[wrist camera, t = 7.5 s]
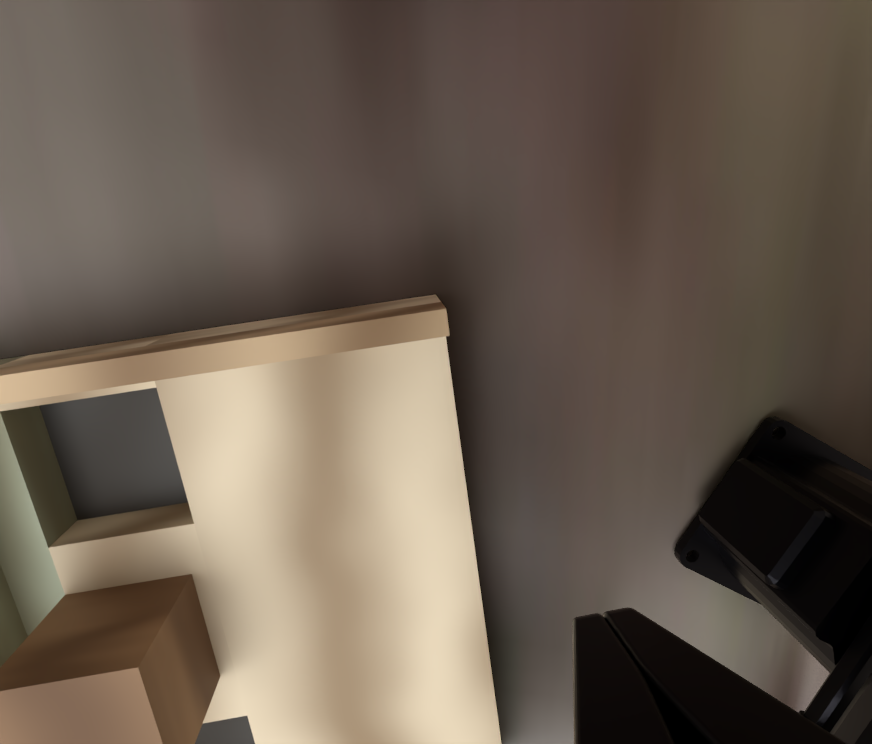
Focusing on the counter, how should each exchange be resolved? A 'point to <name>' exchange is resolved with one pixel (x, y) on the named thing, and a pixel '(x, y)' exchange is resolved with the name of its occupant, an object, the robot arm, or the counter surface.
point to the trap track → (265, 515)
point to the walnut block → (113, 669)
